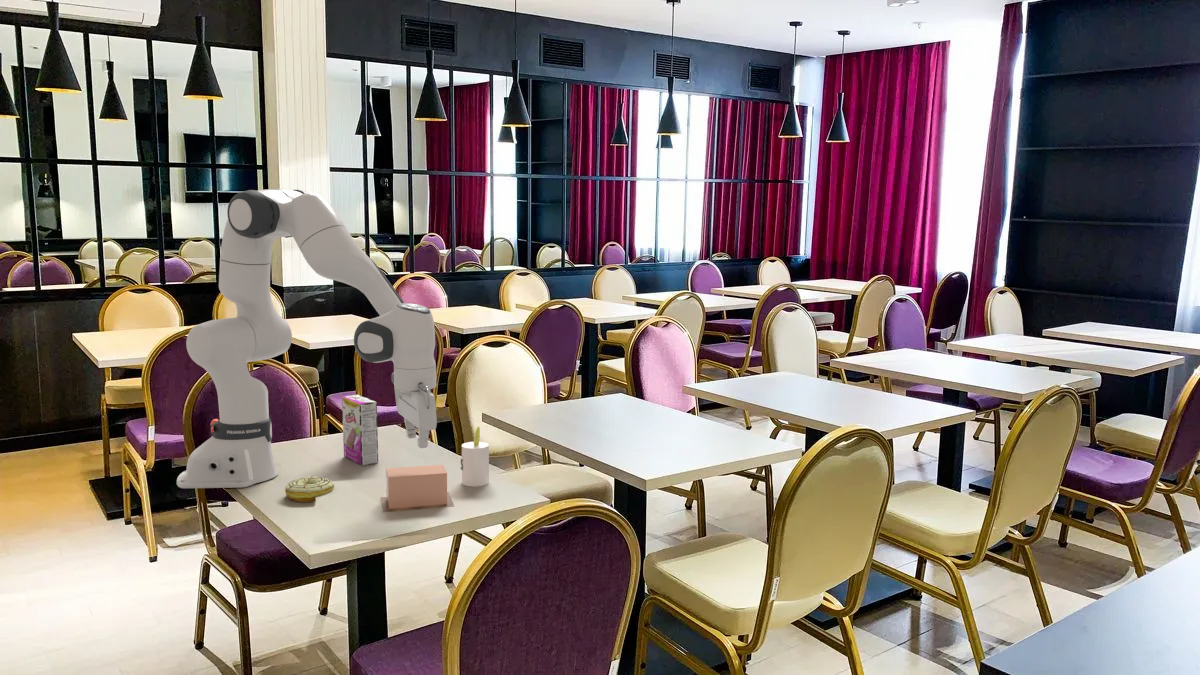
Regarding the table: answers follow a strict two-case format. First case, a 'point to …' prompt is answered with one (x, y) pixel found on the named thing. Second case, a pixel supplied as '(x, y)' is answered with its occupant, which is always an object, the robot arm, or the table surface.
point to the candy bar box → (360, 429)
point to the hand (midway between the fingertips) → (416, 442)
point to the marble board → (386, 508)
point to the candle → (475, 462)
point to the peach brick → (416, 486)
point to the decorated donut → (308, 488)
